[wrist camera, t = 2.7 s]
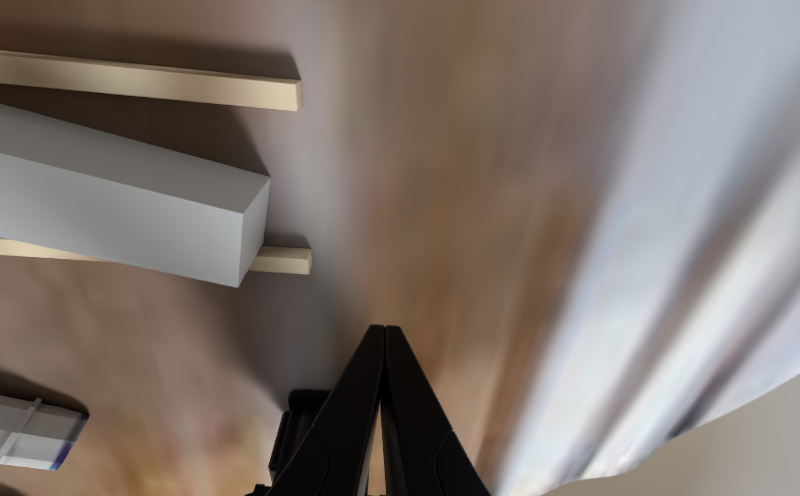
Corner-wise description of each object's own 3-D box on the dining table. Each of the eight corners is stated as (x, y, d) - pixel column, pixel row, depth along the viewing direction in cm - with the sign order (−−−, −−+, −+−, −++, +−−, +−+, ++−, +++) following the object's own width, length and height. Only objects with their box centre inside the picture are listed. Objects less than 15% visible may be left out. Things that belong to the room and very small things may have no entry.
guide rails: (301, 80, 14) (295, 84, 14) (312, 263, 20) (308, 274, 19) (-208, 29, 13) (-248, 30, 12) (-50, 239, 18) (-70, 250, 18)
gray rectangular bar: (272, 173, 17) (241, 214, 14) (264, 241, 19) (236, 290, 16) (-129, 64, 14) (-296, 80, 11) (-84, 157, 16) (-211, 196, 13)
